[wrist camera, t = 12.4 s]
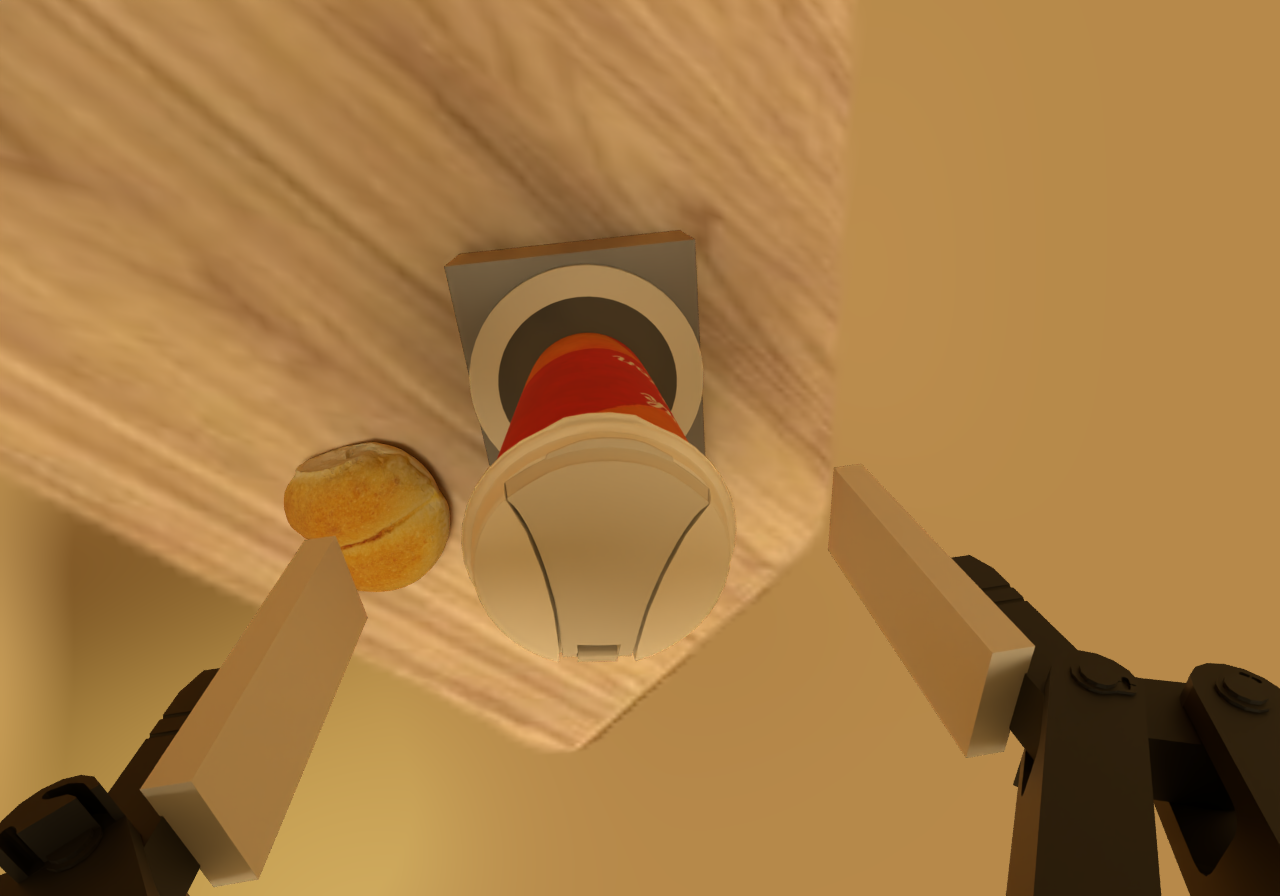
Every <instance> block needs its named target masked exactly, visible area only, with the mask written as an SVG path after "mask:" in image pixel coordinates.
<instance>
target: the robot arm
mask: <svg viewBox="0 0 1280 896" xmlns="http://www.w3.org/2000/svg"><path fill="white" fill-rule="evenodd" d="M828 551H829V552H830V554H831V555H832V557H833V558H834V560H835V561H836V563H837V564H838V566H839V567H840V569H841V570H842V572H843V573H844V575H845V576H846V578H847V579H848V581H849V582H850V584H851V585H852V587H853V588H854V590H855V591H856V593H857V594H858V596H859V597H860V599H861V601H862V602H863V604H864V605H865V607H866V608H867V610H868V611H869V613H870V614H871V616H872V617H873V619H874V620H875V622H876V623H877V625H878V626H879V628H880V629H881V631H882V632H883V634H884V635H885V637H886V638H887V640H888V641H889V643H890V644H891V646H892V647H893V648H894V650H895V652H896V653H897V655H898V656H899V658H900V659H901V661H902V662H903V664H904V665H905V667H906V668H907V670H908V671H909V673H910V674H911V676H912V677H913V679H914V680H915V682H916V683H917V685H918V686H919V688H920V689H921V691H922V692H923V694H924V695H925V697H926V698H927V700H928V701H929V703H930V704H931V706H932V708H933V709H934V711H935V712H936V714H937V715H938V717H939V718H940V720H941V721H942V723H943V724H944V726H945V727H946V729H947V730H948V732H949V733H950V735H951V736H952V738H953V739H954V741H955V742H956V744H957V745H958V747H959V748H960V750H961V751H962V753H963V754H964V756H965V757H966V758H969V757H975V756H981V755H986V754H993V753H998V752H1004V750H1005V746H1006V743H1007V740H1008V737H1009V733H1010V730H1011V731H1012V733H1013V734H1014V735H1015V736H1016V738H1017V739H1018V740H1019V742H1020V743H1021V744H1022V746H1023V747H1024V748H1025V749H1024V752H1023V755H1022V758H1021V762H1020V765H1019V768H1018V771H1017V774H1016V777H1015V780H1014V784H1013V785H1014V786H1017V787H1018V793H1017V802H1016V811H1015V820H1014V828H1013V829H1014V830H1013V837H1012V846H1011V856H1010V864H1009V874H1008V883H1007V891H1006V896H1161V888H1160V876H1159V864H1158V851H1157V839H1156V827H1155V814H1154V804H1155V807H1156V810H1157V812H1158V815H1159V817H1160V820H1161V822H1162V825H1163V827H1164V830H1165V833H1166V835H1167V838H1168V840H1169V843H1170V845H1171V848H1172V850H1173V853H1174V855H1175V858H1176V860H1177V863H1178V865H1179V868H1180V871H1181V873H1182V876H1183V878H1184V881H1185V883H1186V886H1187V888H1188V891H1189V893H1190V896H1280V688H1278V687H1277V686H1275V685H1274V684H1272V683H1271V682H1269V681H1268V680H1266V679H1265V678H1263V677H1260V676H1258V675H1255V674H1253V673H1251V672H1249V671H1247V670H1244V669H1241V668H1237V667H1233V666H1230V665H1226V664H1212V663H1206V664H1203V665H1200V666H1197V667H1195V668H1194V670H1193V671H1192V673H1191V674H1190V676H1189V678H1188V681H1187V683H1181V682H1171V681H1162V680H1152V679H1143V678H1137V677H1134V676H1133V675H1132V674H1131V673H1130V671H1129V670H1127V669H1125V668H1124V667H1122V666H1121V665H1119V664H1118V663H1116V662H1115V661H1113V660H1111V659H1108V658H1106V657H1103V656H1101V655H1098V654H1095V653H1090V652H1085V651H1079V650H1077V649H1076V648H1075V647H1074V646H1073V645H1072V644H1071V643H1070V642H1069V641H1068V640H1067V639H1066V638H1064V636H1063V635H1061V634H1060V633H1059V632H1058V631H1057V630H1056V629H1055V628H1054V627H1053V626H1052V625H1051V624H1050V623H1049V622H1048V621H1047V620H1046V619H1045V618H1044V617H1043V616H1042V615H1041V614H1040V613H1039V612H1038V611H1036V609H1035V608H1034V607H1032V605H1030V603H1029V602H1028V601H1024V599H1023V597H1022V596H1021V595H1020V594H1019V593H1018V592H1017V591H1016V590H1015V589H1014V588H1011V587H1010V584H1009V583H1008V582H1007V581H1006V580H1005V579H1004V578H1003V577H1002V576H1001V575H1000V574H999V573H998V572H997V571H995V569H994V568H992V567H990V566H988V565H987V564H985V563H983V562H981V561H980V560H978V559H976V558H974V557H972V556H970V555H967V556H960V557H953V558H951V557H950V556H949V555H948V554H947V553H946V552H945V551H944V550H943V549H942V548H941V547H940V546H939V545H938V544H937V543H936V542H935V541H934V539H933V538H932V537H931V536H930V535H929V534H928V533H927V532H926V531H925V530H924V529H923V528H922V527H921V526H920V525H919V524H918V523H917V522H916V521H915V520H914V519H913V517H912V516H911V515H910V514H909V513H908V512H907V511H906V510H905V509H904V508H903V507H902V506H901V505H900V504H899V503H898V502H897V501H896V500H895V498H894V497H892V495H891V494H890V493H889V492H888V491H887V490H886V489H885V488H884V487H883V486H882V485H881V484H880V483H879V482H878V481H877V480H876V479H875V478H874V477H873V475H872V474H871V473H870V472H869V471H868V470H867V469H866V468H865V467H864V466H863V465H862V464H856V465H849V466H842V467H834V474H833V488H832V502H831V516H830V531H829V544H828ZM367 618H368V617H367V614H366V612H365V609H364V607H363V604H362V602H361V599H360V597H359V594H358V592H357V589H356V586H355V584H354V581H353V579H352V576H351V574H350V571H349V569H348V566H347V564H346V561H345V558H344V556H343V553H342V551H341V548H340V546H339V543H338V541H337V538H336V536H330V537H323V538H315V539H308V540H304V542H303V543H302V545H301V546H300V548H299V549H298V551H297V552H296V554H295V556H294V557H293V559H292V560H291V562H290V563H289V565H288V566H287V568H286V569H285V571H284V572H283V574H282V575H281V577H280V578H279V580H278V581H277V583H276V584H275V586H274V587H273V589H272V590H271V592H270V593H269V595H268V596H267V598H266V599H265V601H264V602H263V604H262V605H261V607H260V608H259V610H258V612H257V613H256V615H255V616H254V618H253V619H252V621H251V622H250V624H249V625H248V627H247V628H246V630H245V631H244V633H243V634H242V636H241V637H240V639H239V640H238V642H237V643H236V645H235V647H234V648H233V649H232V651H231V652H230V654H229V655H228V657H227V658H226V660H225V662H224V663H223V664H222V666H221V668H218V669H211V670H204V671H203V672H201V673H200V674H199V675H198V676H197V677H196V678H195V679H194V680H193V681H191V682H190V683H189V684H188V685H187V686H186V687H185V688H183V689H182V690H181V691H180V692H179V693H178V695H177V696H176V697H175V699H174V700H173V702H172V703H171V705H170V706H169V707H168V709H167V710H166V712H165V713H164V714H163V719H161V720H159V721H158V723H157V724H156V726H155V727H154V729H153V730H152V731H151V733H150V738H149V739H146V740H145V741H144V743H143V744H142V746H141V747H140V748H139V750H138V751H137V753H136V754H135V756H134V757H133V758H132V760H131V761H130V763H129V764H128V765H127V767H126V768H125V770H124V771H123V772H122V774H121V775H120V777H119V778H118V780H117V781H116V782H115V784H114V785H113V787H112V788H111V790H110V791H109V792H108V793H107V792H106V791H105V789H104V788H103V787H102V786H101V784H100V783H99V782H98V781H97V780H96V778H95V777H93V776H85V775H79V776H75V777H71V778H66V779H62V780H60V781H58V782H56V783H54V784H52V785H50V786H48V787H46V788H43V789H41V790H40V791H38V792H37V793H35V794H34V795H32V796H31V797H29V798H28V799H26V800H25V801H23V802H22V803H21V804H19V805H18V806H17V807H16V808H15V809H14V810H13V811H12V812H11V813H10V814H9V815H8V816H6V817H5V818H4V819H3V820H2V821H1V823H0V867H1V868H2V869H3V870H4V871H5V872H6V873H5V874H2V875H0V896H189V894H188V893H187V892H188V890H189V888H190V886H191V884H192V882H193V880H194V878H195V876H196V874H197V872H198V870H199V868H200V870H201V871H202V872H203V874H204V875H205V876H206V878H207V879H208V880H209V882H210V883H211V884H212V886H213V887H217V886H223V885H229V884H235V883H240V882H246V881H252V880H258V879H259V877H260V874H261V872H262V870H263V867H264V865H265V862H266V860H267V858H268V855H269V853H270V850H271V848H272V845H273V843H274V841H275V838H276V836H277V834H278V831H279V829H280V826H281V824H282V822H283V819H284V817H285V814H286V812H287V810H288V807H289V805H290V802H291V800H292V798H293V795H294V793H295V790H296V788H297V786H298V783H299V781H300V778H301V776H302V774H303V771H304V769H305V766H306V764H307V762H308V759H309V757H310V754H311V752H312V750H313V747H314V745H315V742H316V740H317V738H318V735H319V733H320V730H321V728H322V726H323V723H324V721H325V718H326V716H327V714H328V711H329V709H330V706H331V704H332V702H333V699H334V697H335V694H336V692H337V690H338V687H339V685H340V682H341V680H342V677H343V675H344V673H345V670H346V668H347V666H348V663H349V661H350V659H351V656H352V654H353V651H354V649H355V647H356V644H357V642H358V639H359V637H360V635H361V632H362V630H363V627H364V625H365V623H366V620H367Z"/></svg>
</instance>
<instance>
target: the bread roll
mask: <svg viewBox="0 0 1280 896" xmlns="http://www.w3.org/2000/svg"><path fill="white" fill-rule="evenodd" d="M284 510H285V513H286V517H287V520H288V522H289V524H290V526H291V527H292V528H293V529H294V530H296V531H297V532H298V533H299V534H301V535H302V536H303V537H304V538H306V539H315V538H323V537H330V536H336V538H337V541H338V543H339V546H340V548H341V551H342V553H343V556H344V558H345V561H346V564H347V566H348V569H349V571H350V574H351V576H352V579H353V581H354V584H355V586H356V589H357V590H358V591H368V592H382V591H391V590H396V589H399V588H403V587H406V586H408V585H410V584H412V583H414V582H415V581H417V580H419V579H420V578H421V577H422V576H424V575H425V574H426V573H427V572H428V571H429V570H430V569H431V568H432V567H433V565H434V564H435V563H436V561H437V560H438V559H439V557H440V556H441V554H442V552H443V550H444V547H445V545H446V542H447V538H448V535H449V530H450V512H449V507H448V503H447V500H446V499H445V498H444V496H443V495H442V493H441V492H440V491H439V489H438V487H437V484H436V482H435V480H434V478H433V477H432V475H431V474H430V473H429V471H428V470H427V469H426V468H425V467H424V466H423V465H422V464H421V463H420V462H419V461H418V460H417V459H416V458H414V457H412V456H411V455H409V454H408V453H406V452H405V451H403V450H401V449H399V448H396V447H393V446H390V445H385V444H381V443H377V442H368V443H362V444H358V445H351V446H345V447H342V448H339V449H336V450H332V451H330V452H327V453H325V454H321V455H319V456H317V457H314V458H311V459H309V460H307V461H306V462H305V463H303V464H301V465H299V466H298V468H297V469H296V473H295V475H294V477H293V479H292V480H291V482H290V483H289V484H288V486H287V489H286V491H285V494H284Z"/></svg>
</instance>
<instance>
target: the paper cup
mask: <svg viewBox="0 0 1280 896" xmlns="http://www.w3.org/2000/svg"><path fill="white" fill-rule="evenodd" d="M735 537H736V519H735V510H734V506H733V503H732V499H731V496H730V493H729V491H728V489H727V487H726V485H725V483H724V481H723V479H722V477H721V475H720V474H719V472H718V471H717V470H716V468H715V467H714V466H713V464H712V463H711V462H710V460H709V459H708V458H706V457H705V456H704V455H703V454H702V453H701V452H700V451H699V450H698V449H697V448H696V447H695V446H693V445H692V444H690V443H689V442H688V440H687V439H686V437H685V435H684V434H683V432H682V430H681V428H680V427H679V425H678V423H677V421H676V420H675V418H674V416H673V415H672V413H671V411H670V409H669V408H668V406H667V404H666V402H665V401H664V399H663V397H662V396H661V394H660V392H659V391H658V389H657V387H656V385H655V384H654V382H653V381H652V379H651V377H650V376H649V374H648V372H647V371H646V369H645V368H644V366H643V365H642V363H641V362H640V360H639V359H638V358H637V356H636V355H635V354H634V353H633V352H632V351H631V350H630V349H629V348H628V347H627V346H626V345H624V344H623V343H621V342H620V341H618V340H616V339H614V338H612V337H609V336H607V335H603V334H598V333H578V334H573V335H570V336H567V337H564V338H562V339H560V340H558V341H556V342H555V343H553V344H552V345H551V346H549V347H548V348H547V349H546V350H545V351H544V352H543V353H542V354H541V356H540V357H539V358H538V360H537V361H536V363H535V365H534V367H533V368H532V370H531V373H530V375H529V377H528V379H527V382H526V384H525V387H524V389H523V392H522V394H521V397H520V399H519V402H518V405H517V407H516V410H515V412H514V415H513V418H512V420H511V423H510V426H509V428H508V431H507V434H506V436H505V439H504V442H503V444H502V447H501V450H500V452H499V455H498V458H497V460H496V461H495V462H494V463H493V464H492V465H491V466H490V467H489V468H488V469H487V470H486V472H485V473H484V475H483V476H482V478H481V479H480V480H479V482H478V483H477V485H476V486H475V488H474V491H473V493H472V495H471V497H470V499H469V501H468V504H467V507H466V511H465V515H464V519H463V523H462V539H461V544H462V551H463V558H464V563H465V566H466V569H467V571H468V574H469V577H470V579H471V581H472V583H473V585H474V586H475V588H476V591H477V594H478V597H479V600H480V602H481V604H482V605H483V607H484V609H485V611H486V612H487V614H488V616H489V617H490V618H491V619H492V621H493V622H494V623H495V624H496V625H497V627H498V628H499V629H500V630H501V631H502V632H503V633H504V634H505V635H507V636H508V637H509V638H510V639H511V640H512V641H513V642H515V643H517V644H518V645H520V646H521V647H523V648H525V649H526V650H528V651H530V652H532V653H534V654H537V655H539V656H541V657H543V658H546V659H550V660H553V661H557V662H559V652H561V653H562V655H563V657H578V662H605V661H617V658H618V656H631V655H632V653H633V654H634V659H635V660H636V661H638V660H641V659H644V658H647V657H650V656H652V655H655V654H657V653H659V652H661V651H664V650H666V649H668V648H669V647H671V646H673V645H674V644H676V643H677V642H679V641H681V640H682V639H684V638H685V637H686V636H687V635H688V634H690V633H691V632H692V631H693V630H695V629H696V628H697V627H698V626H699V625H700V623H701V622H702V621H703V620H704V619H705V618H706V617H707V616H708V614H709V613H710V611H711V610H712V609H713V607H714V606H715V604H716V603H717V601H718V599H719V597H720V595H721V592H722V590H723V588H724V586H725V583H726V579H727V576H728V572H729V567H730V561H731V557H732V554H733V550H734V547H735Z"/></svg>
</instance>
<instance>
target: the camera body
mask: <svg viewBox="0 0 1280 896" xmlns="http://www.w3.org/2000/svg"><path fill="white" fill-rule="evenodd" d="M444 268H445V272H446V276H447V281H448V285H449V290H450V294H451V298H452V303H453V307H454V311H455V316H456V320H457V325H458V329H459V333H460V338H461V342H462V347H463V351H464V355H465V360H466V364H467V368H468V373H469V377H470V391H471V398H472V402H473V406H474V409H475V412H476V415H477V417H478V420H479V422H480V425H481V430H482V434H483V439H484V443H485V447H486V452H487V456H488V461H489V465H490V466H491V465H492V464H493V463H494V462H495V461H496V460H497V458H498V455H499V452H500V450H501V447H502V444H503V442H504V439H505V436H506V434H507V431H508V428H509V426H510V423H511V420H512V418H513V415H514V412H515V410H516V407H517V405H518V402H519V399H520V397H521V394H522V392H523V389H524V387H525V384H526V382H527V379H528V377H529V375H530V373H531V370H532V368H533V367H534V365H535V363H536V361H537V360H538V358H539V357H540V356H541V354H542V353H543V352H544V351H545V350H546V349H547V348H548V347H549V346H551V345H552V344H553V343H555V342H556V341H558V340H560V339H562V338H564V337H567V336H570V335H573V334H578V333H598V334H603V335H607V336H609V337H612V338H614V339H616V340H618V341H620V342H621V343H623V344H624V345H626V346H627V347H628V348H629V349H630V350H631V351H632V352H633V353H634V354H635V355H636V356H637V358H638V359H639V360H640V362H641V363H642V365H643V366H644V368H645V369H646V371H647V372H648V374H649V376H650V377H651V379H652V381H653V382H654V384H655V385H656V387H657V389H658V391H659V392H660V394H661V396H662V397H663V399H664V401H665V402H666V404H667V406H668V408H669V409H670V411H671V413H672V415H673V416H674V418H675V420H676V421H677V423H678V425H679V427H680V428H681V430H682V432H683V434H684V435H685V437H686V439H687V440H688V442H689V443H690V444H692V445H693V446H695V447H696V448H697V449H698V450H699V451H700V452H701V453H702V454H703V455H704V456H705V442H704V421H703V399H702V391H703V376H704V372H703V363H702V356H701V352H700V335H699V313H698V292H697V270H696V249H695V239H694V238H692V237H690V236H689V235H687V234H685V233H684V232H682V231H681V230H676V231H667V232H658V233H649V234H639V235H630V236H621V237H612V238H602V239H593V240H584V241H574V242H565V243H556V244H547V245H537V246H528V247H519V248H510V249H500V250H491V251H482V252H472V253H463V254H459V255H458V256H456V257H455V258H454V259H453V260H452V261H450V262H449V263H448V264H447V265H446V266H444Z"/></svg>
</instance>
